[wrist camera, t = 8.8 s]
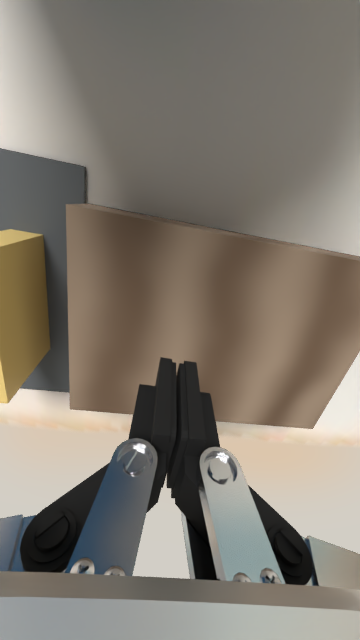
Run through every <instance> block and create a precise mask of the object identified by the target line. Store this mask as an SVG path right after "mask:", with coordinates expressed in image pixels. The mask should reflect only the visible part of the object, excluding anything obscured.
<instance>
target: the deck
mask: <svg viewBox="0 0 360 640" xmlns="http://www.w3.org/2000/svg"><path fill="white" fill-rule="evenodd" d="M66 236H67V286H68V336H69V386H70V409H73V410H86V411H98V412H110V413H123V414H134V409H135V404H136V399H137V394H138V388H139V384H144V385H152V386H155V384H156V378H157V373H158V367H159V362H160V357H163V358H170V359H172V362H176V376H177V371H178V367H179V363H184V361H191V362H196V363H197V370H198V378H199V386H200V392H205V393H210V395H211V399H212V405H213V410H214V416H215V421H221V422H234V423H246V424H258V425H271V426H283V427H295V428H308V429H313V428H314V426H315V424H316V423H317V421H318V419H319V418H320V416H321V414H322V413H323V411H324V409H325V408H326V406H327V404H328V403H329V401H330V399H331V398H332V396H333V394H334V393H335V391H336V389H337V388H338V386H339V384H340V383H341V381H342V380H343V378H344V376H345V375H346V373H347V371H348V370H349V368H350V366H351V365H352V363H353V361H354V360H355V358H356V356H357V355H358V353H359V351H360V257H359V256H354V255H349V254H344V253H338V252H333V251H328V250H323V249H318V248H313V247H308V246H303V245H297V244H292V243H287V242H282V241H277V240H272V239H267V238H262V237H256V236H251V235H246V234H241V233H236V232H231V231H226V230H221V229H216V228H210V227H205V226H200V225H195V224H190V223H185V222H180V221H175V220H169V219H164V218H159V217H154V216H149V215H144V214H139V213H134V212H129V211H123V210H118V209H113V208H108V207H103V206H98V205H93V204H66Z"/></svg>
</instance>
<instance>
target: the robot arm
mask: <svg viewBox="0 0 360 640" xmlns="http://www.w3.org/2000/svg"><path fill="white" fill-rule="evenodd" d="M166 474H167V488H171V498H175V504H176V505H177V506H178V507H179V509H180V510H181V511H182V525H183V532H184V539H185V546H186V552H187V560H188V567H189V574H190V579H179V578H159V577H140V576H132V574H133V570H134V565H135V561H136V556H137V552H138V547H139V543H140V538H141V534H142V529H143V525H144V520H145V516H146V513H147V512H148V511H149V510H150V509H151V508H152V507H153V506H154V505H155V504H156V503H157V502H158V498H159V495H160V491H161V487H163V485H164V481H165V477H166ZM0 640H360V554H358V553H355V552H352V551H350V550H347V549H344V548H341V547H339V546H336V545H333V544H330V543H327V542H325V541H322V540H319V539H316V538H314V537H311V536H307V538H304V537H302V536H300V535H299V533H298V532H297V531H296V530H295V529H294V528H293V527H292V526H291V525H290V524H289V523H288V522H287V521H286V520H285V519H284V518H282V517H281V516H280V515H279V514H278V513H277V512H276V511H275V510H274V509H273V508H272V507H271V506H270V505H269V504H268V503H267V502H265V501H264V500H263V499H262V498H261V497H260V496H259V495H258V494H257V493H256V492H255V491H254V490H253V489H252V488H251V487H250V486H249V485H248V484H247V482H246V479H245V477H244V474H243V471H242V469H241V466H240V464H239V462H238V460H237V459H236V458H235V457H234V455H233V454H231V453H230V452H229V451H227V450H226V449H223V448H221V447H220V444H219V438H218V433H217V427H216V422H215V416H214V410H213V405H212V399H211V395H210V393H205V392H200V386H199V378H198V370H197V363H196V362H191V361H184V363H179V367H178V371H177V376H176V362H172V359H170V358H163V357H160V362H159V367H158V373H157V378H156V384H155V386H152V385H144V384H139V388H138V394H137V399H136V404H135V409H134V414H133V419H132V424H131V429H130V434H129V439H128V440H126V441H124V442H122V443H121V444H120V445H119V446H118V447H117V449H116V450H115V452H114V454H113V456H112V459H111V461H110V463H108V464H107V465H106V466H104V467H103V468H101V469H100V470H99V471H97V472H96V473H94V474H93V475H91V476H90V477H89V478H87V479H86V480H84V481H83V482H82V483H80V484H79V485H77V486H76V487H75V488H73V489H72V490H70V491H69V492H67V493H66V494H65V495H63V496H62V497H60V498H59V499H58V500H56V501H55V502H53V503H52V504H50V505H49V506H48V507H46V508H45V509H43V510H42V511H41V512H40V513H39V514H37V515H34V516H30V517H24V518H23V515H17V516H12V517H7V518H1V519H0Z"/></svg>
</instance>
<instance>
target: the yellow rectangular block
mask: <svg viewBox="0 0 360 640" xmlns="http://www.w3.org/2000/svg"><path fill="white" fill-rule="evenodd" d="M49 350H50V335H49V318H48V302H47V286H46V270H45V254H44V238H43V235H42V234H36V233H30V232H24V231H18V230H13V229H9V230H3V231H0V403H9V401H10V400H11V399H12V398H13V396H14V395H15V394H16V392H17V391H18V390H19V388H20V387H21V386H22V385H23V383H24V382H25V381H26V379H27V378H28V377H29V375H30V374H31V373H32V372H33V370H34V369H35V368H36V366H37V365H38V364H39V362H40V361H41V360H42V359H43V357H44V356H45V355H46V353H47V352H48V351H49Z"/></svg>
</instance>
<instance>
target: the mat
mask: <svg viewBox="0 0 360 640" xmlns="http://www.w3.org/2000/svg"><path fill="white" fill-rule="evenodd" d="M85 178H86V167H84V166H80V165H75V164H70V163H66V162H61V161H56V160H52V159H47V158H43V157H38V156H33V155H29V154H24V153H19V152H15V151H10V150H5V149H1V148H0V231H3V230H9V229H13V230H18V231H24V232H30V233H36V234H42V235H43V238H44V254H45V270H46V286H47V302H48V318H49V335H50V350H49V351H48V352H47V353H46V355H45V356H44V357H43V359H42V360H41V361H40V362H39V364H38V365H37V366H36V368H35V369H34V370H33V372H32V373H31V374H30V375H29V377H28V378H27V379H26V381H25V382H24V383H23V385H22V386H21V387H20V388H26V389H37V390H48V391H59V392H70V386H69V336H68V286H67V236H66V204H85Z"/></svg>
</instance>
